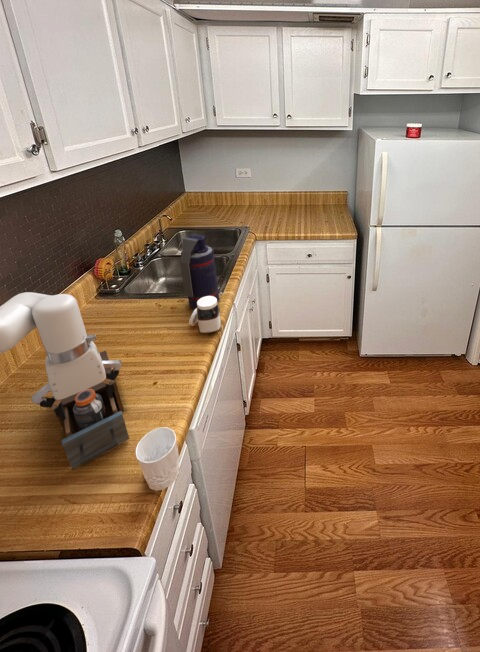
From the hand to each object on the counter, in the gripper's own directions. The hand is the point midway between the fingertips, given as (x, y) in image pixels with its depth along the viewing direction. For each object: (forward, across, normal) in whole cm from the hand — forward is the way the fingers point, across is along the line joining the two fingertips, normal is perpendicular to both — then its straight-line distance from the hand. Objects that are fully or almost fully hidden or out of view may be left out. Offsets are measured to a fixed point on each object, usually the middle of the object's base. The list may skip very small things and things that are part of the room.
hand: (87, 405), depth 79 cm
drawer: (+9, 0, +3) cm, 10 cm away
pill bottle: (+8, 0, 0) cm, 8 cm away
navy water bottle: (+10, -42, -38) cm, 58 cm away
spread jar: (+10, -37, -24) cm, 45 cm away
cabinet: (+10, 0, -11) cm, 15 cm away
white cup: (+10, -10, +20) cm, 25 cm away
